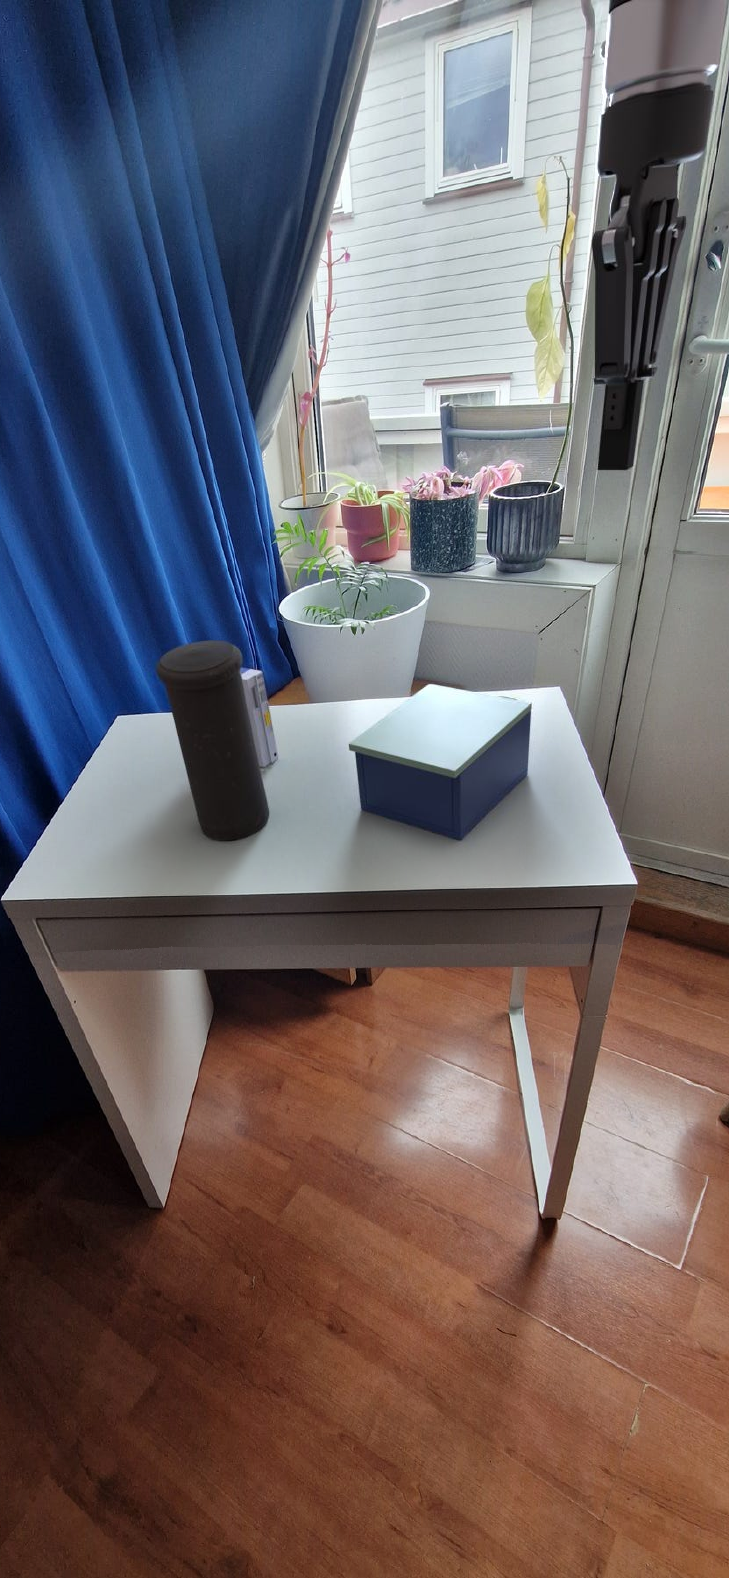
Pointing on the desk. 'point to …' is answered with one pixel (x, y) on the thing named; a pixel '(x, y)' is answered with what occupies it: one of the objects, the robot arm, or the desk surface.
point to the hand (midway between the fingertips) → (615, 468)
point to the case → (445, 786)
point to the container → (215, 737)
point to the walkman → (259, 716)
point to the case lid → (441, 729)
